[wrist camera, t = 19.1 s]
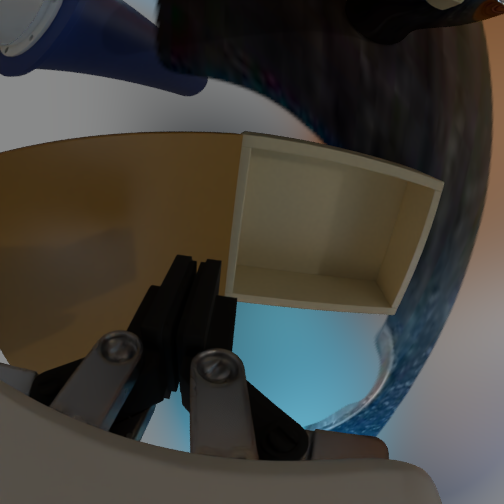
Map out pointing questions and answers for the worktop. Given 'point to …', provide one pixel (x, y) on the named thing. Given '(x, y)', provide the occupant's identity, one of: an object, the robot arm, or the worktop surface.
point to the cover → (104, 232)
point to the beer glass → (415, 16)
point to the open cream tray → (325, 226)
